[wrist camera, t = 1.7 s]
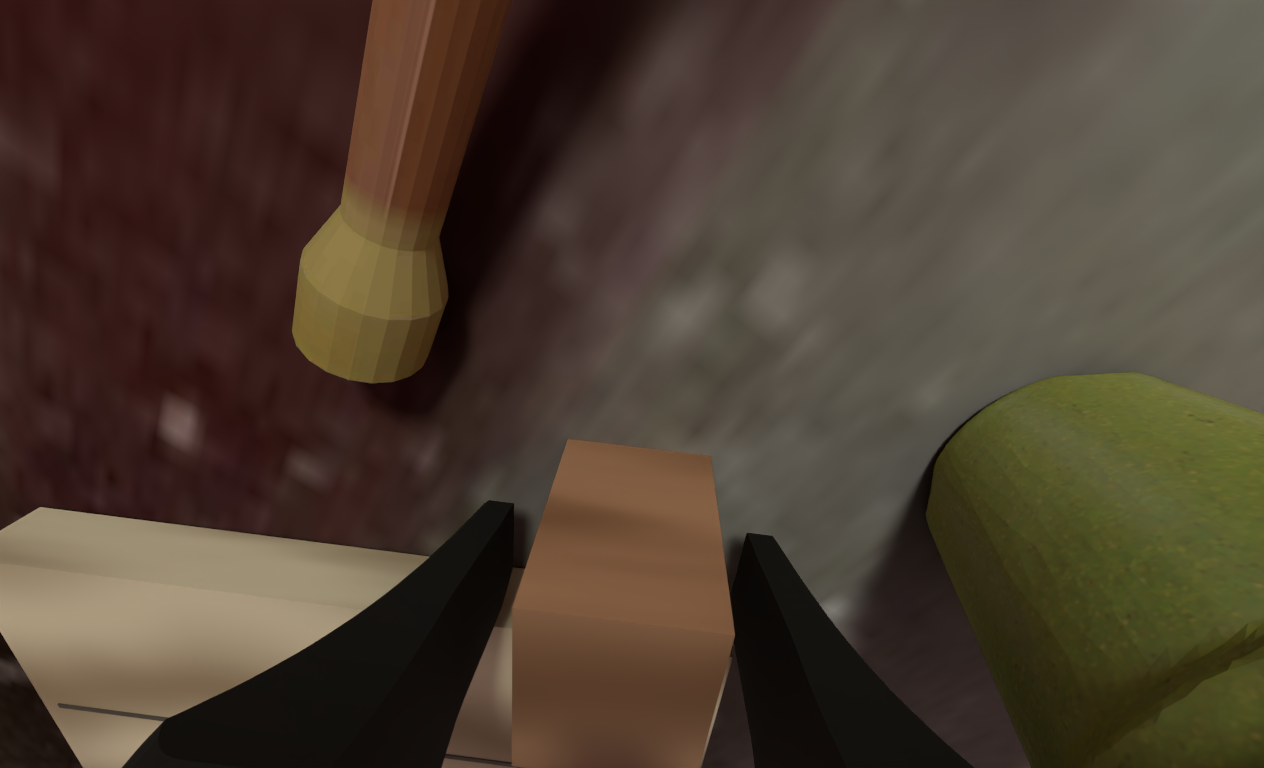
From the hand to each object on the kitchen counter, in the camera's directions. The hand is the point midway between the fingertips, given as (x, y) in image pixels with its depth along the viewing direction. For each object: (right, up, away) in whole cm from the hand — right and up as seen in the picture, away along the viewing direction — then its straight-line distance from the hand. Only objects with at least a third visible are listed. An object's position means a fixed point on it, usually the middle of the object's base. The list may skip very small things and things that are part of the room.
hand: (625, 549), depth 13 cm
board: (-8, -5, +5) cm, 10 cm away
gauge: (0, -3, +3) cm, 4 cm away
